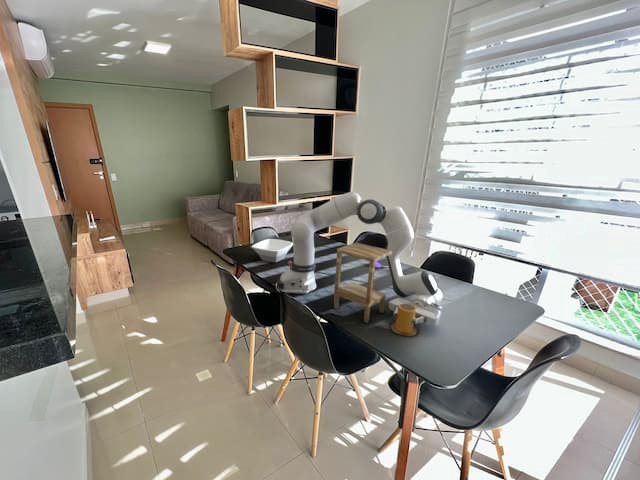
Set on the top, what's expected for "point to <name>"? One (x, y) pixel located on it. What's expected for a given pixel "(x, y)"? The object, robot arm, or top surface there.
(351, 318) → the top surface
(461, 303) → the top surface
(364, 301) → the rack
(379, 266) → the spatula
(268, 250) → the bowl
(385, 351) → the top surface
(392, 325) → the coaster
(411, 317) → the cup
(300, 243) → the robot arm
